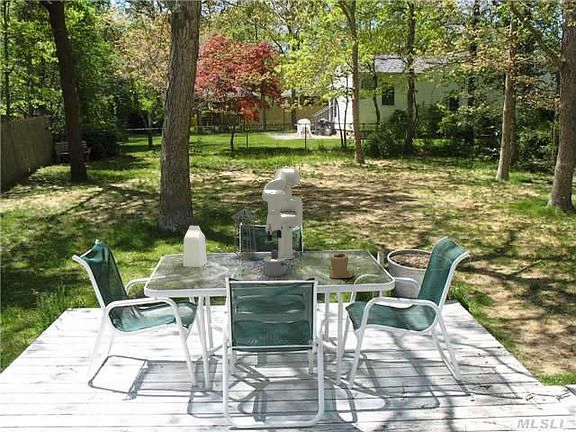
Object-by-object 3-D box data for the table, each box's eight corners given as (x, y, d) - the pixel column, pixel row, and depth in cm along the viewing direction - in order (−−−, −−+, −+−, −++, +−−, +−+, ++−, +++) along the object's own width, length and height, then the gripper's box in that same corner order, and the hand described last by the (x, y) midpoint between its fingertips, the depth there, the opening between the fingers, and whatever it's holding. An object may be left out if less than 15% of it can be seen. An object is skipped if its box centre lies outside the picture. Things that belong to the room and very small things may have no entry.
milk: (183, 266, 364) (182, 227, 360) (190, 262, 375) (189, 224, 371) (200, 267, 361) (199, 227, 357) (207, 263, 372) (206, 224, 368)
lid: (272, 258, 352) (272, 247, 350) (290, 260, 344) (290, 249, 343) (259, 262, 341) (259, 251, 339) (277, 265, 333) (276, 253, 332)
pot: (269, 269, 353) (269, 256, 351) (291, 273, 343) (291, 259, 342) (258, 274, 343) (257, 259, 342) (280, 277, 334) (280, 263, 332)
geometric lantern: (230, 259, 380) (229, 209, 375) (239, 255, 395) (238, 206, 390) (252, 261, 376) (251, 210, 371) (260, 256, 391) (259, 207, 385)
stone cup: (330, 280, 327) (330, 255, 325) (328, 275, 339) (328, 251, 337) (355, 280, 327) (356, 255, 325) (353, 275, 339) (353, 251, 337)
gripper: (277, 209, 346) (277, 236, 350) (260, 213, 332) (261, 241, 336) (287, 210, 342) (287, 237, 345) (270, 214, 328) (271, 242, 331)
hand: (274, 239), depth 340 cm, fingers open, 9 cm apart
